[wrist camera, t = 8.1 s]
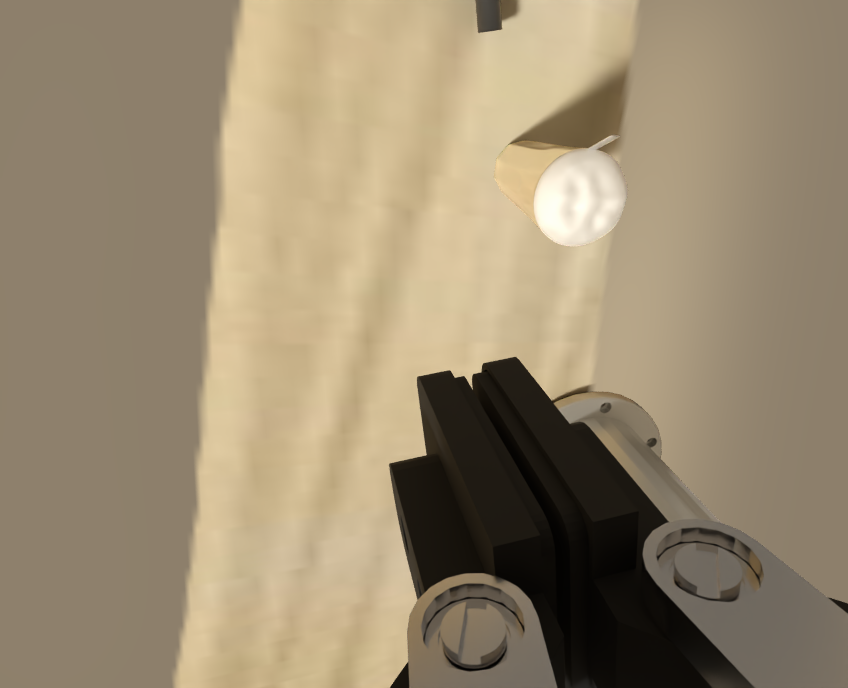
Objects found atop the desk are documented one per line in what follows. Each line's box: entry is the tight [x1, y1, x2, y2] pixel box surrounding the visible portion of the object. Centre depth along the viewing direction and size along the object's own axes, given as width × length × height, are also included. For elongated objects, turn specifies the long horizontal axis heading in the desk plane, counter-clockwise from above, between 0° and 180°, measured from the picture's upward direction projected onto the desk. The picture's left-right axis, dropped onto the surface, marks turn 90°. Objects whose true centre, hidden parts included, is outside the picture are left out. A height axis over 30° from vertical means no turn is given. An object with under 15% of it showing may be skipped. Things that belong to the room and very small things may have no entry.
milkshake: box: [494, 135, 628, 246], centre depth 31 cm, size 4×5×10 cm
